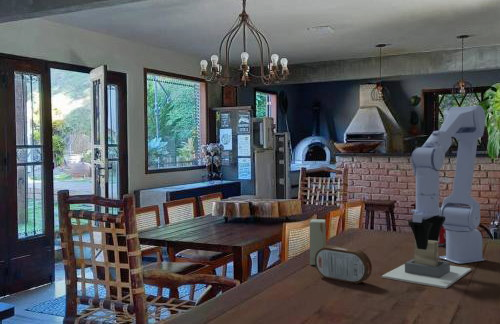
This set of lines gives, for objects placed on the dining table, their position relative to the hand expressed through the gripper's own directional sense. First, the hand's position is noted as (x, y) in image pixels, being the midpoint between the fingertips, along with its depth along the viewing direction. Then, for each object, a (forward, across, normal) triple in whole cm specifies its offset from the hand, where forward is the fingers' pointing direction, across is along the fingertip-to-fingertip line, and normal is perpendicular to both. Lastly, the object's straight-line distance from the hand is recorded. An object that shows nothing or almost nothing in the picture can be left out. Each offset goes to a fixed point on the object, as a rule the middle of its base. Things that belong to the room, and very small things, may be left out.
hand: (427, 246), depth 131 cm
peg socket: (+7, 0, 0) cm, 7 cm away
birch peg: (+7, 0, 0) cm, 7 cm away
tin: (+7, +18, -15) cm, 25 cm away
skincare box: (+7, +6, -29) cm, 31 cm away
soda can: (+8, -37, -11) cm, 40 cm away
